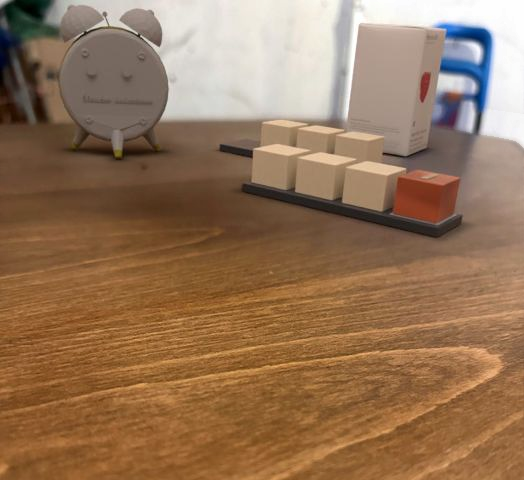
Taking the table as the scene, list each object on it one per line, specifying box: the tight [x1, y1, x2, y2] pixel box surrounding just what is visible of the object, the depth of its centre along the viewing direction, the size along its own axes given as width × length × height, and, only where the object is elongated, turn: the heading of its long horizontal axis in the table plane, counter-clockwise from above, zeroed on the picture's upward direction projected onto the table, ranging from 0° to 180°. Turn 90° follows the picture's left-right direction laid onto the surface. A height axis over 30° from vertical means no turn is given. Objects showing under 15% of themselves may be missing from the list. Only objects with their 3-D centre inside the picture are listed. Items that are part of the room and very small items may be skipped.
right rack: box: [241, 144, 464, 238], centre depth 61 cm, size 6×20×4 cm, turn 55°
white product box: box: [345, 22, 447, 157], centre depth 87 cm, size 9×9×15 cm
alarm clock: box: [58, 4, 170, 160], centre depth 73 cm, size 12×7×15 cm, turn 102°
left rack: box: [219, 119, 385, 164], centre depth 78 cm, size 6×20×4 cm, turn 55°
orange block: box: [393, 169, 461, 223], centre depth 57 cm, size 4×4×3 cm
